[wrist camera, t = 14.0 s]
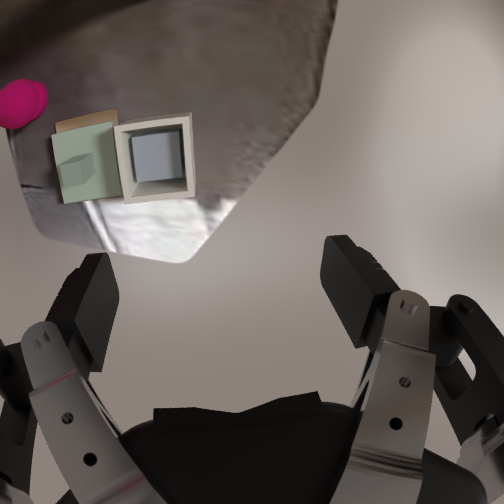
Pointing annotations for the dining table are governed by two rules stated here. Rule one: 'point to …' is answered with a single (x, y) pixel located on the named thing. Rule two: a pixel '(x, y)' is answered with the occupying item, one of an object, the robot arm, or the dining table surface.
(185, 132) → the storage box
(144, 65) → the dining table surface
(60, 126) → the cork mat
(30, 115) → the pepper mill
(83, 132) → the lid
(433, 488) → the robot arm
